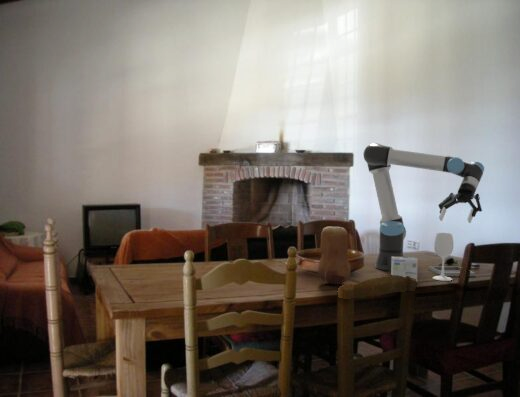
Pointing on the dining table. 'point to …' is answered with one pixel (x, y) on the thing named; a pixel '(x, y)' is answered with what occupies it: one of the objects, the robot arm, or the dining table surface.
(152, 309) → the dining table surface
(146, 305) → the dining table surface
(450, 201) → the robot arm
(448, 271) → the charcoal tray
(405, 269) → the light bulb box
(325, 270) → the butternut squash
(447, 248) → the wineglass
